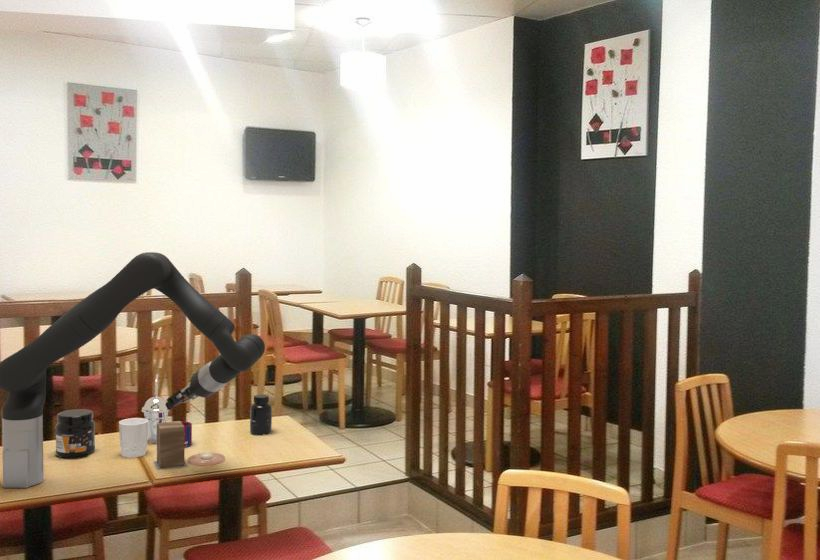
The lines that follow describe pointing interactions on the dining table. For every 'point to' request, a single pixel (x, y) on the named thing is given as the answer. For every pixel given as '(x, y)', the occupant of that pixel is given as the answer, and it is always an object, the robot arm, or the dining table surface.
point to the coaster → (168, 468)
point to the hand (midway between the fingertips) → (179, 401)
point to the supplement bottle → (260, 415)
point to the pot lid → (206, 459)
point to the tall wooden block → (170, 444)
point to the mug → (187, 434)
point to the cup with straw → (155, 413)
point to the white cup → (133, 437)
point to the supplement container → (75, 433)
